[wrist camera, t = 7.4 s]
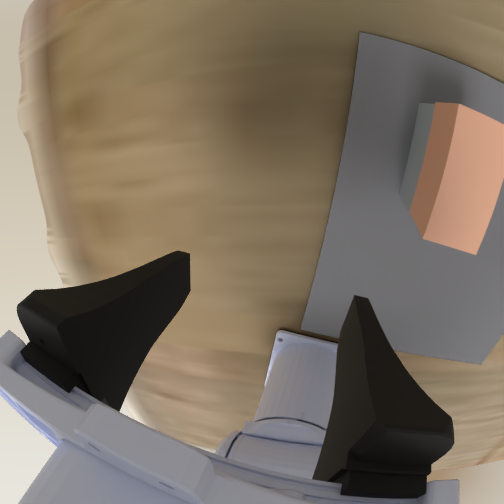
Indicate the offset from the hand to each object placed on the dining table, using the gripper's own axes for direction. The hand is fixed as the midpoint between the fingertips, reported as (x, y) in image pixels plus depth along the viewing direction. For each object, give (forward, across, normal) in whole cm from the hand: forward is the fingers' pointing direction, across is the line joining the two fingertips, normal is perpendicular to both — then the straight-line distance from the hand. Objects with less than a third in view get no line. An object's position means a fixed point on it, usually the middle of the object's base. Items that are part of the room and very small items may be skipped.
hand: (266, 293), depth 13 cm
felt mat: (+10, -12, -1) cm, 16 cm away
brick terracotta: (+6, -8, -6) cm, 12 cm away
